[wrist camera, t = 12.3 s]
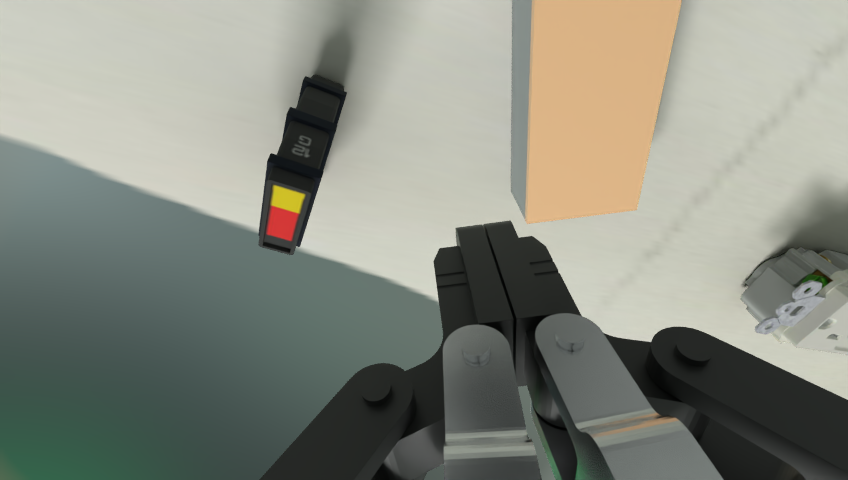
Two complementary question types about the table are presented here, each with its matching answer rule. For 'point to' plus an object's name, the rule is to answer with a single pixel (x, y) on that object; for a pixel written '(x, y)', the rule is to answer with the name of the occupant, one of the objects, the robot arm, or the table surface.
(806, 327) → the electrical outlet
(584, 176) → the tan flat rectangular panel
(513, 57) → the grey rectangular box
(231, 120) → the table surface
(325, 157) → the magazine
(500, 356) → the robot arm
